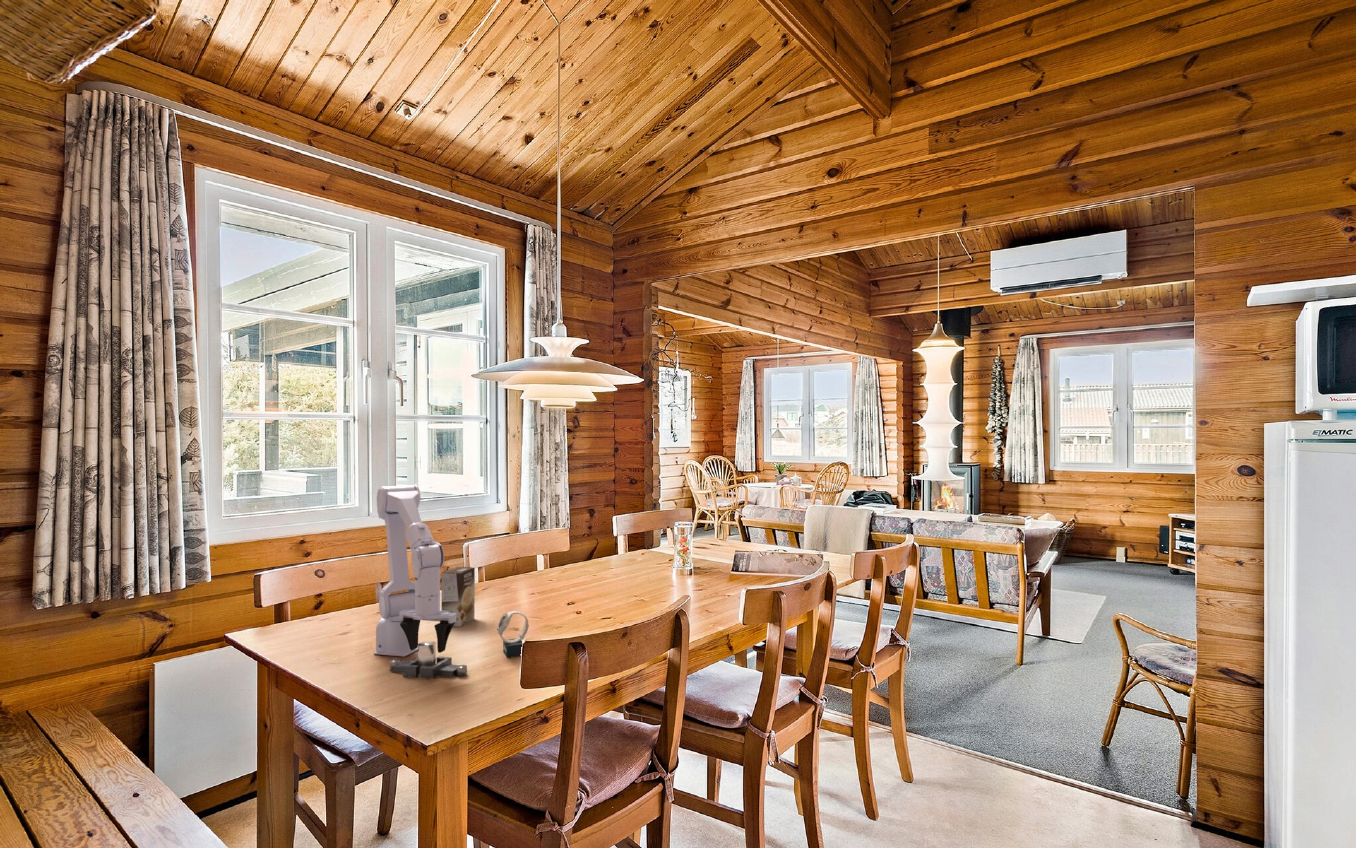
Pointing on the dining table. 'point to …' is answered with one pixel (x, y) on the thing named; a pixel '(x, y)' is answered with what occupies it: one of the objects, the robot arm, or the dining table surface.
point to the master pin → (426, 654)
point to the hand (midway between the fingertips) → (427, 650)
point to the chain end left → (405, 667)
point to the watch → (511, 645)
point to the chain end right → (443, 669)
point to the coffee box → (459, 593)
